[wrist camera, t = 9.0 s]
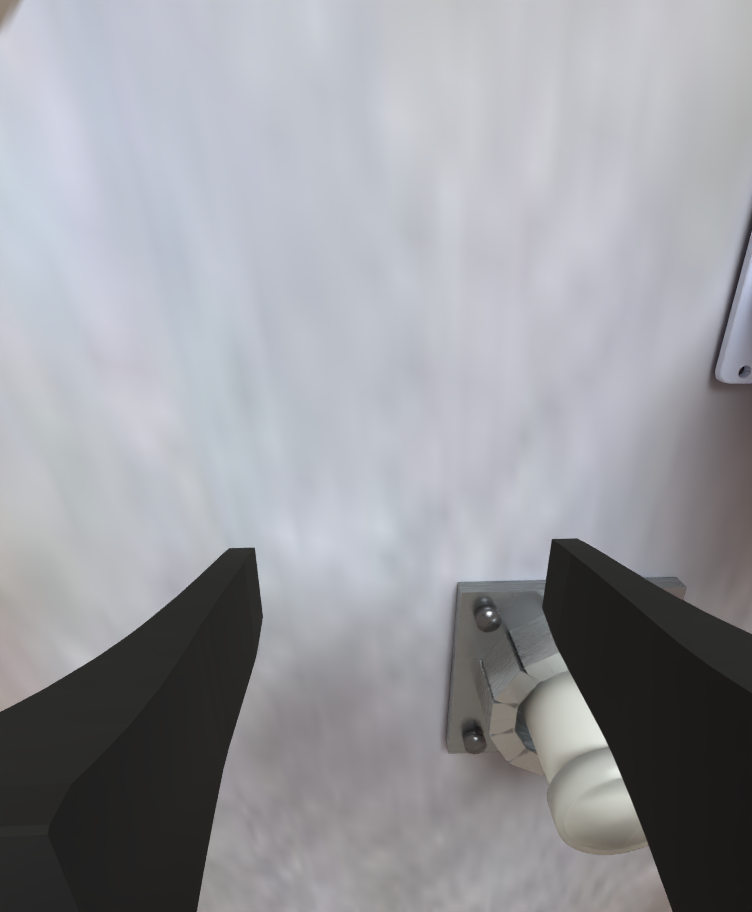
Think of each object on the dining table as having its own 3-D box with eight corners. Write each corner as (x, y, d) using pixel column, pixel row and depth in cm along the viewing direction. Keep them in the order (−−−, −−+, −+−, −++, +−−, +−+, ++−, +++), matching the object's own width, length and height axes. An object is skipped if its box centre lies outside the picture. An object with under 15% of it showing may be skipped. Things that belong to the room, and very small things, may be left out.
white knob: (584, 621, 24) (668, 753, 18) (611, 687, 26) (697, 830, 19) (491, 658, 25) (539, 798, 18) (523, 720, 27) (577, 868, 20)
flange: (676, 577, 24) (720, 621, 21) (632, 733, 29) (664, 788, 26) (458, 582, 24) (472, 627, 21) (446, 740, 28) (456, 797, 25)
